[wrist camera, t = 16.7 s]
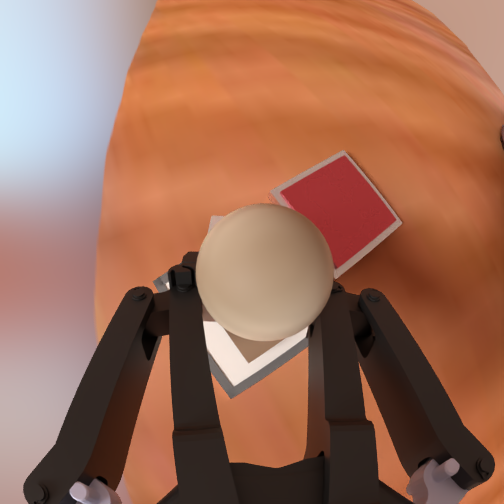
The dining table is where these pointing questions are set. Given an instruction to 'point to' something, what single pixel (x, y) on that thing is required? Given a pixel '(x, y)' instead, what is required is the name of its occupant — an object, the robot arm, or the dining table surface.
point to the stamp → (264, 275)
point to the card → (232, 361)
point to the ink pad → (340, 208)
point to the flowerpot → (503, 137)
